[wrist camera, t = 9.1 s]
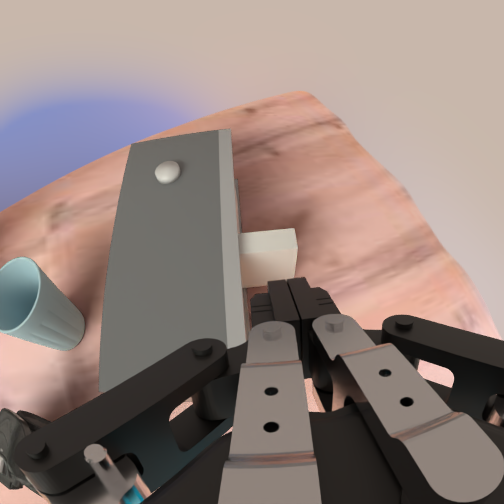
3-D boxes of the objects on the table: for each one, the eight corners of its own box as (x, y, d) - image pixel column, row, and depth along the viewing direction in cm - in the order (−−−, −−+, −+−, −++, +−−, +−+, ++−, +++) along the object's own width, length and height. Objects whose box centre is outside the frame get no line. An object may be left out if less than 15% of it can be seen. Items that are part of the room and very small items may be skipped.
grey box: (142, 401, 28) (93, 390, 20) (154, 186, 42) (131, 132, 33) (256, 398, 28) (249, 388, 20) (237, 175, 42) (229, 116, 33)
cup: (103, 338, 32) (49, 304, 23) (55, 372, 30) (-6, 347, 21) (80, 287, 35) (31, 242, 26) (36, 319, 33) (-18, 284, 24)
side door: (236, 288, 33) (227, 255, 27) (230, 202, 38) (223, 160, 32) (293, 282, 33) (298, 248, 27) (279, 197, 38) (280, 155, 32)
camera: (106, 417, 28) (50, 409, 19) (120, 505, 23) (67, 525, 14) (18, 412, 27) (-41, 397, 18) (26, 488, 22) (-32, 491, 14)
